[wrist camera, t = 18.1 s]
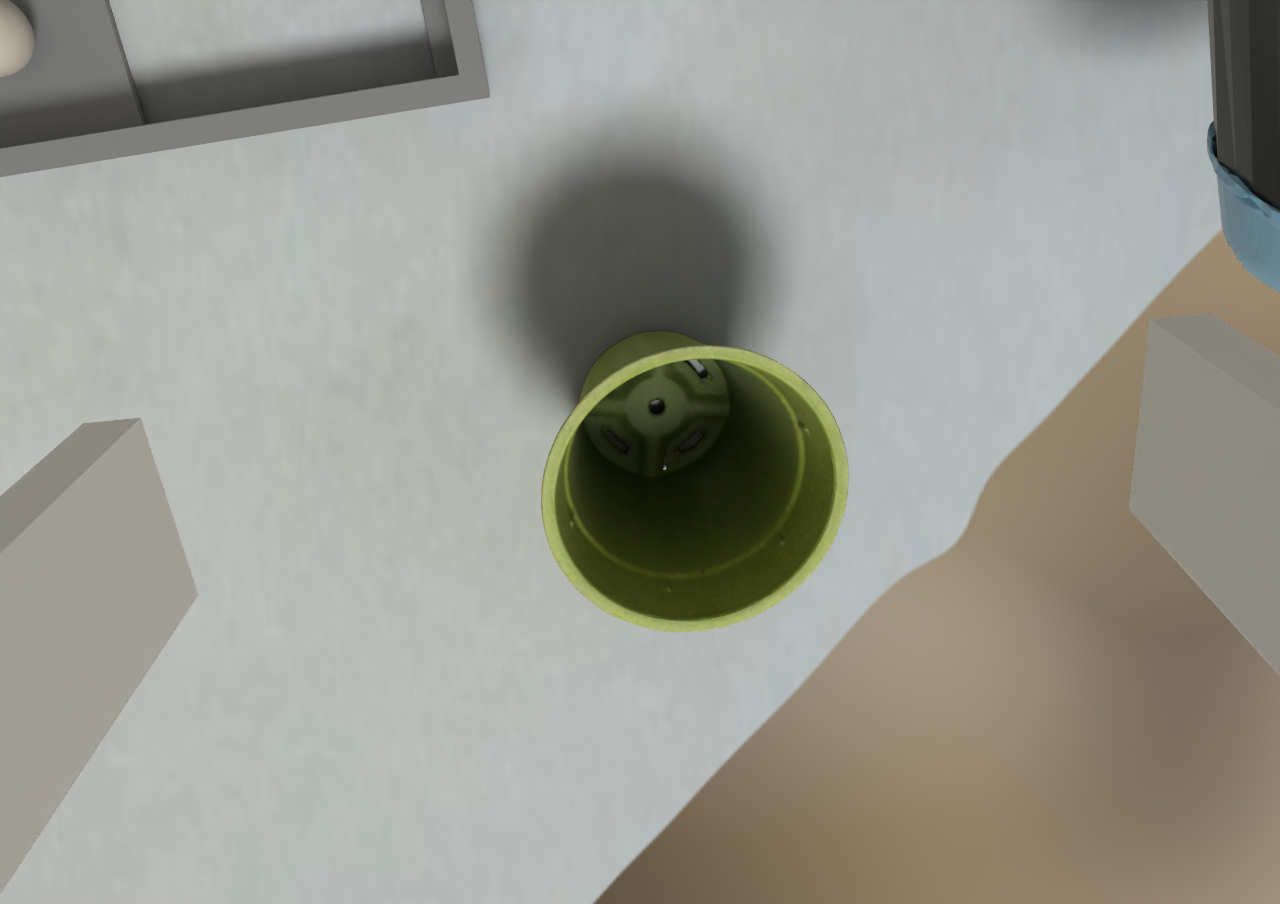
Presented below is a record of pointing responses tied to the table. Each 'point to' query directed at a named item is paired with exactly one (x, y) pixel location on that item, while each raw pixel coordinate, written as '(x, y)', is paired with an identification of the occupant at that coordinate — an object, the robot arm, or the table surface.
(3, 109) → the parts tray
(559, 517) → the plant pot
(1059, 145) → the table surface
